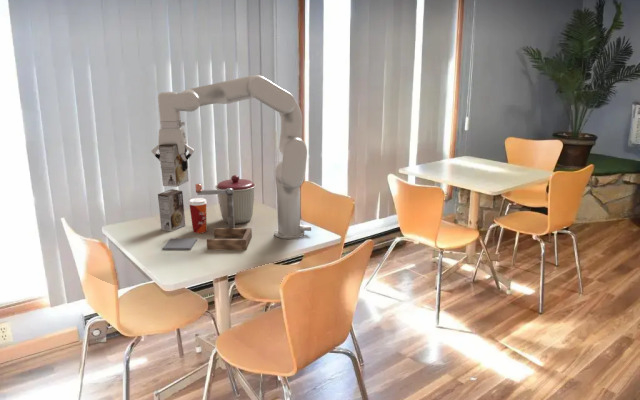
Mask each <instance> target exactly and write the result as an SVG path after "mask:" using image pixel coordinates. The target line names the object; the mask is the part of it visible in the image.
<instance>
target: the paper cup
mask: <svg viewBox="0 0 640 400" xmlns="http://www.w3.org/2000/svg"><path fill="white" fill-rule="evenodd" d="M207 203H208V201H207V199H206V198H203V197H196V198H195V197H194V198H191V199H189V202H188V205H189V210H190V212H189V213H190V218H191V226H192V231H193V233H194V234H203V233H206V232H207V222H208V221H207V220H208V219H207Z"/></svg>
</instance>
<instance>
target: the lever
mask: <svg viewBox="0 0 640 400" xmlns="http://www.w3.org/2000/svg"><path fill="white" fill-rule="evenodd" d="M195 193H196V194H197V196H204V195H205V196H209V195H210V196H211V195H218V194H227V195H232V194H233V188H227V189H222V190H217V189H202V183H196V184H195Z"/></svg>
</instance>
